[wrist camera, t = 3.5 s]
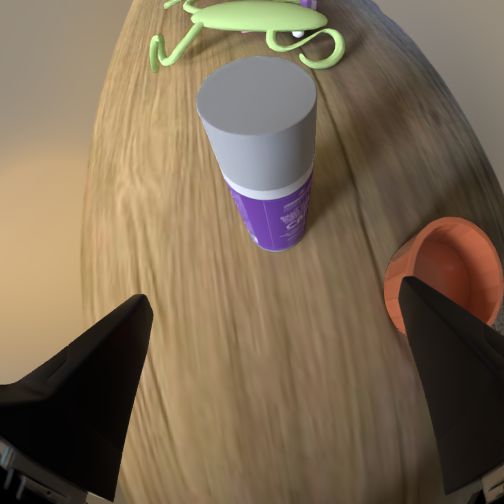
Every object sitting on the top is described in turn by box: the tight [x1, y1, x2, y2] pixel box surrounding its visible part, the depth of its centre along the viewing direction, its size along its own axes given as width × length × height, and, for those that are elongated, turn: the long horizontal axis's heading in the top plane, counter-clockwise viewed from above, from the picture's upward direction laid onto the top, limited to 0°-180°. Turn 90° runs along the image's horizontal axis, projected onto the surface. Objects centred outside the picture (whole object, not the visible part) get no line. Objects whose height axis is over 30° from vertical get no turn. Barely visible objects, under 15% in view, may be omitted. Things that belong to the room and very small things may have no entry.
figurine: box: [150, 0, 345, 73], centre depth 28 cm, size 18×27×6 cm
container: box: [196, 56, 317, 252], centre depth 16 cm, size 5×5×15 cm
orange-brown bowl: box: [384, 217, 504, 336], centre depth 18 cm, size 9×9×5 cm
